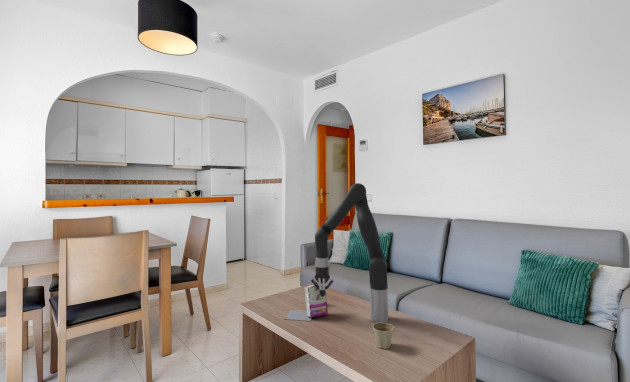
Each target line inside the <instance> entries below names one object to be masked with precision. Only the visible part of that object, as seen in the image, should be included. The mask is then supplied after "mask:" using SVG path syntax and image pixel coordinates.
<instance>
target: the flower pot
mask: <svg viewBox="0 0 630 382" xmlns="http://www.w3.org/2000/svg"><path fill="white" fill-rule="evenodd" d="M372 329H373V332H374V339H375V344H376V347H377V348H379V349H385V350H387V349H389V348H390V347H391V344H392V343H391V342H392V335H393V332H394V331H393V330H394V325H393V324H390V323H389V322H383V323H381V322H380V323H378V322H374V324H373V325H372Z"/></svg>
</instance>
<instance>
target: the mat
mask: <svg viewBox="0 0 630 382" xmlns="http://www.w3.org/2000/svg"><path fill="white" fill-rule="evenodd" d="M288 313H289V314H288ZM288 313H287V314H286V316H287V315H288V316H287V318H286V319H290V320H289V321H298V320H300V321H302V322H312V319H313V318H312V317H308V316H307V310H300V309H299V310H298V309H290V310H289V311H288ZM286 316H285V317H286ZM300 321H299V322H300Z"/></svg>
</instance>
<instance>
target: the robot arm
mask: <svg viewBox="0 0 630 382" xmlns="http://www.w3.org/2000/svg"><path fill="white" fill-rule="evenodd" d="M367 198H368V196H367V188H366V187H365V184H364V185H363V184H362V183H360V182H359V183H358V182H356V183H353V184H352V185H350V188H349V189H348V192H347V194H346V195H345V197H344V199H343V200H342V201H341V203H340V204H338V206H337V207H336V208H335V209H334V210H333V211H332V212H331V213H330V215H329V216H328V217H327V219H326V220H324V221H325V222H324V223H323V224H322V225H321V226H320V227H319V228H318V230H317V231H316V233H315V234H314V244H315V261H314V265H315V267H314V268H315V274H314V277H312V278H311V280H310V281H311V283H312V285H314V286H315V287H316V288H317V289H319V290H320V296H321V297H324V296H325V290H328V289H329V288H330V287H331V285H332V284H333V283H334V278H331V277H330V261H329V249H328V240H329V237H330V235H331V234H332V233H333V232H334V231H335V230H336V229H337V228H338V227H339V226H340V224H341V223H342V222H343V221H344V219H345V218H346V217H347V215H348V214H349V212H350V211H351V210H352V209H353V207H354V208H355V211H356V213H355V214H356V219H357V223H358V229H359V232H360V235H361V239H362V241H363V242H364V243H363V244H365V247H366V248H367V251H368V252H367V253H368V256H369V261H370V264H369V266H368V267H369V268H368V269H369V289H370V290H369V292H370V296H369V297H370V320H371V322H374V323H380V322H381V323H389V298H388V297H389V293H388V291H389V290H388V289H389V287H388V262H387V259H386V258H385V255H384V252H383V250H382V246H381V241H380V237H379V233H378V228H377V225H376V221H375V218H374V216H373V214H372V211H371V209H370V206H369V202H368V199H367ZM327 282H328V284H327ZM318 284H319V285H318ZM322 284H323V289H322Z"/></svg>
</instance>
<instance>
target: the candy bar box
mask: <svg viewBox="0 0 630 382" xmlns="http://www.w3.org/2000/svg"><path fill="white" fill-rule="evenodd" d="M317 284H318V285H319V283H317ZM322 289H323V284H322ZM326 290H327V289H326ZM326 290H325V296H324V297H321V296H320V290H319V289H317V288H316V287H315V286H314V284H311V285H306V286H304V295H305V296H304V298H305V306H306V311H307V316H308V317H313V318H315V317H320V316H325V315H329V312H328V302H327V292H326Z"/></svg>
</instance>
